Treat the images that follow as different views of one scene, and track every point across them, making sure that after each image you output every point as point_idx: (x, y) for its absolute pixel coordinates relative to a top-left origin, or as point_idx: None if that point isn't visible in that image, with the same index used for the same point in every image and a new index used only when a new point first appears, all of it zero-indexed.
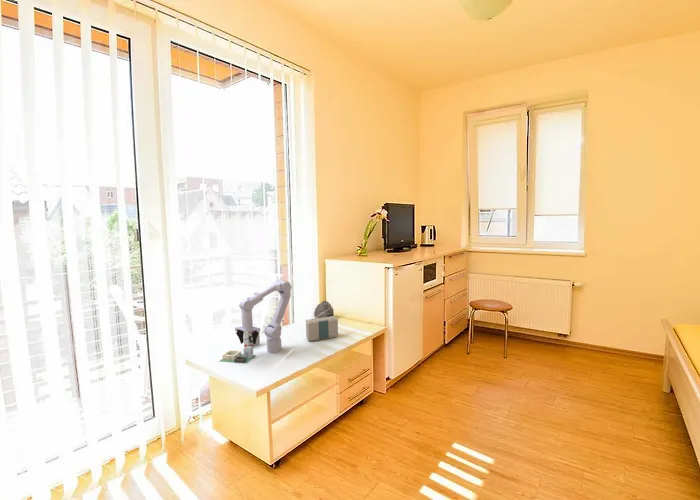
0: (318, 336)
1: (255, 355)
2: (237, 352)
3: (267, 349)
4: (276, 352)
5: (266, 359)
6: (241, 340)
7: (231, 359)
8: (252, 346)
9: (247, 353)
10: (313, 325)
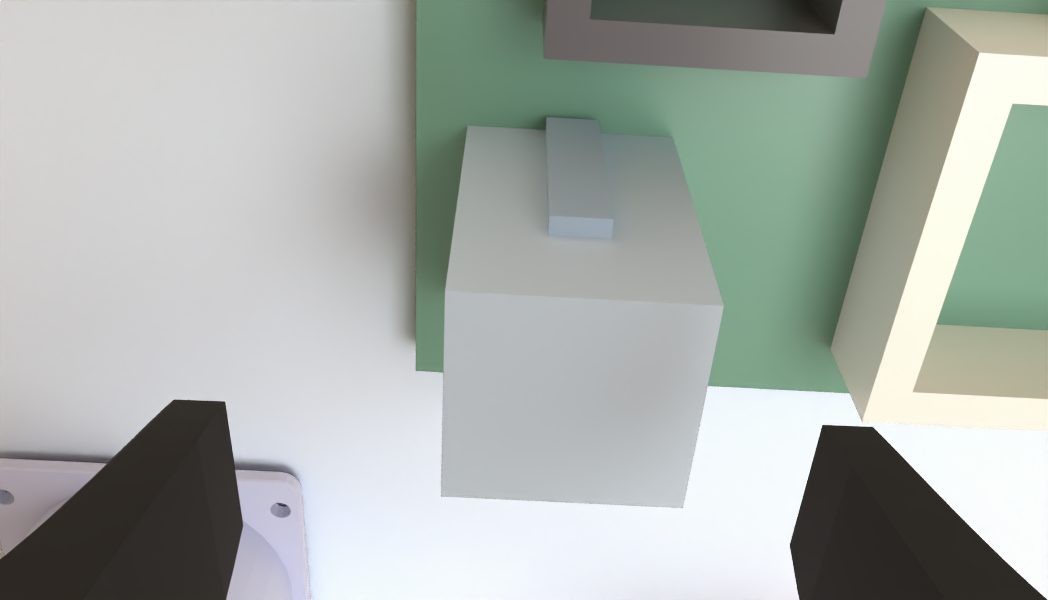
0: None
1: (438, 353)
2: (955, 371)
3: (233, 587)
4: (29, 534)
5: (84, 230)
6: (881, 544)
7: (1039, 16)
8: (459, 492)
9: (547, 201)
10: None
